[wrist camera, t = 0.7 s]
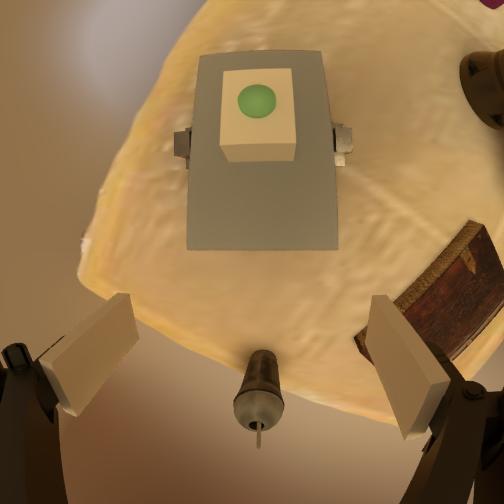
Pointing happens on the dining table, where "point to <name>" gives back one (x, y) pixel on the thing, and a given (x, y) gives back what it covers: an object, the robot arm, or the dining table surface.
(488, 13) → the dining table surface
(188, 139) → the pivot stand
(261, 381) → the beverage cup
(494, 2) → the mug
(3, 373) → the robot arm
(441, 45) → the dining table surface
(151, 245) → the dining table surface
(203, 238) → the instrument plate
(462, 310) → the hardback book
